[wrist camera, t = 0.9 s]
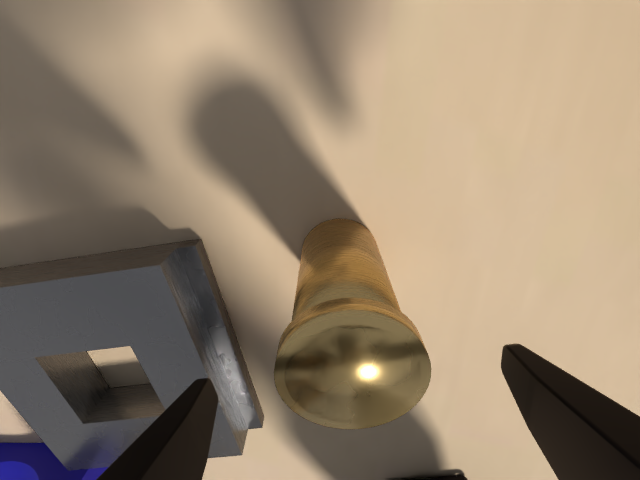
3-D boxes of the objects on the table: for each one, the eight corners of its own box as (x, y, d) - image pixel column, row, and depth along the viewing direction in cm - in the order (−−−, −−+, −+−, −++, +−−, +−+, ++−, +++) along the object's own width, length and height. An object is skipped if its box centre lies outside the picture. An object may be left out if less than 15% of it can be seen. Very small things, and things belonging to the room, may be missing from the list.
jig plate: (264, 416, 22) (257, 453, 20) (81, 434, 23) (54, 471, 21) (201, 238, 16) (180, 261, 14) (-40, 274, 17) (-96, 301, 15)
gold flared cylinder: (386, 284, 17) (431, 422, 10) (304, 295, 17) (291, 435, 10) (379, 206, 15) (430, 305, 8) (288, 220, 16) (257, 326, 8)
